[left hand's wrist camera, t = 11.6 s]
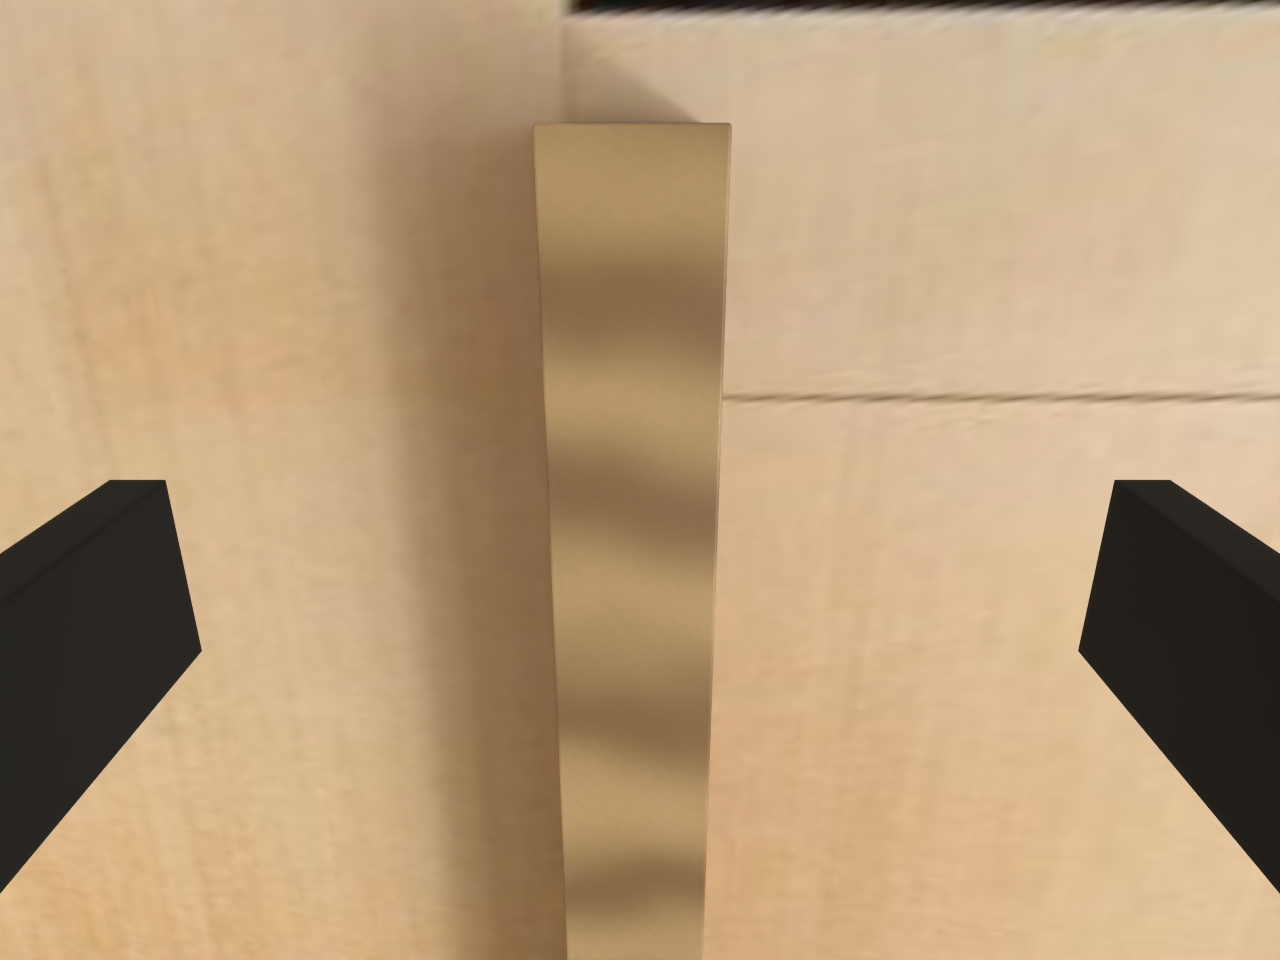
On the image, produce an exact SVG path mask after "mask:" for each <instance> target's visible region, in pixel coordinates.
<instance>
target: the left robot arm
mask: <svg viewBox="0 0 1280 960" xmlns="http://www.w3.org/2000/svg"><path fill="white" fill-rule="evenodd" d="M201 651H202V650H201V645H200V640H199V636H198V631H197V626H196V621H195V617H194V612H193V607H192V603H191V598H190V593H189V589H188V584H187V579H186V575H185V570H184V565H183V561H182V556H181V551H180V546H179V542H178V537H177V532H176V528H175V523H174V518H173V514H172V509H171V504H170V500H169V495H168V490H167V485H166V481H165V480H109V481H108V482H106V483H105V484H103V485H102V486H100V487H99V488H97V489H96V490H94V491H93V492H91V493H90V494H88V495H87V496H85V497H84V498H82V499H81V500H79V501H78V502H76V503H75V504H74V505H72V506H71V507H69V508H68V509H66V510H65V511H63V512H62V513H60V514H59V515H57V516H56V517H54V518H53V519H51V520H50V521H48V522H47V523H45V524H44V525H42V526H41V527H39V528H38V529H36V530H35V531H33V532H32V533H30V534H29V535H27V536H26V537H24V538H23V539H21V540H20V541H18V542H17V543H15V544H14V545H13V546H11V547H10V548H8V549H7V550H5V551H4V552H2V553H1V554H0V893H1V892H2V891H3V890H4V888H5V887H6V886H7V885H8V884H9V882H10V881H11V880H12V879H13V877H14V876H15V875H16V874H17V873H18V871H19V870H20V869H21V868H22V867H23V865H24V864H25V863H26V862H27V861H28V859H29V858H30V857H31V856H32V855H33V853H34V852H35V851H36V850H37V849H38V847H39V846H40V845H41V844H42V843H43V841H44V840H45V839H46V838H47V837H48V835H49V834H50V833H51V832H52V831H53V829H54V828H55V827H56V826H57V825H58V823H59V822H60V821H61V820H62V819H63V817H64V816H65V815H66V814H67V813H68V811H69V810H70V809H71V808H72V806H73V805H74V804H75V803H76V802H77V800H78V799H79V798H80V797H81V796H82V794H83V793H84V792H85V791H86V790H87V788H88V787H89V786H90V785H91V784H92V782H93V781H94V780H95V779H96V778H97V776H98V775H99V774H100V773H101V772H102V770H103V769H104V768H105V767H106V766H107V764H108V763H109V762H110V761H111V760H112V758H113V757H114V756H115V755H116V754H117V752H118V751H119V750H120V749H121V748H122V746H123V745H124V744H125V743H126V742H127V740H128V739H129V738H130V737H131V735H132V734H133V733H134V732H135V731H136V729H137V728H138V727H139V726H140V725H141V723H142V722H143V721H144V720H145V719H146V717H147V716H148V715H149V714H150V713H151V711H152V710H153V709H154V708H155V707H156V705H157V704H158V703H159V702H160V701H161V699H162V698H163V697H164V696H165V695H166V693H167V692H168V691H169V690H170V689H171V687H172V686H173V685H174V684H175V683H176V681H177V680H178V679H179V678H180V677H181V675H182V674H183V673H184V672H185V671H186V669H187V668H188V667H189V666H190V665H191V663H192V662H193V661H194V660H195V658H196V657H197V656H198V655H199V654H200V652H201ZM1078 651H1079V652H1080V654H1081V655H1082V656H1083V657H1084V658H1085V660H1086V661H1087V662H1088V663H1089V664H1090V666H1091V667H1092V668H1093V669H1094V671H1095V672H1096V673H1097V674H1098V675H1099V677H1100V678H1101V679H1102V680H1103V681H1104V683H1105V684H1106V685H1107V686H1108V687H1109V689H1110V690H1111V691H1112V692H1113V693H1114V695H1115V696H1116V697H1117V698H1118V699H1119V701H1120V702H1121V703H1122V704H1123V705H1124V707H1125V708H1126V709H1127V710H1128V711H1129V713H1130V714H1131V715H1132V716H1133V717H1134V719H1135V720H1136V721H1137V722H1138V723H1139V725H1140V726H1141V727H1142V728H1143V729H1144V731H1145V732H1146V733H1147V734H1148V735H1149V737H1150V738H1151V739H1152V740H1153V742H1154V743H1155V744H1156V745H1157V746H1158V748H1159V749H1160V750H1161V751H1162V752H1163V754H1164V755H1165V756H1166V757H1167V758H1168V760H1169V761H1170V762H1171V763H1172V764H1173V766H1174V767H1175V768H1176V769H1177V770H1178V772H1179V773H1180V774H1181V775H1182V776H1183V778H1184V779H1185V780H1186V781H1187V782H1188V784H1189V785H1190V786H1191V787H1192V788H1193V790H1194V791H1195V792H1196V793H1197V794H1198V796H1199V797H1200V798H1201V799H1202V800H1203V802H1204V803H1205V804H1206V805H1207V806H1208V808H1209V809H1210V810H1211V811H1212V813H1213V814H1214V815H1215V816H1216V817H1217V819H1218V820H1219V821H1220V822H1221V823H1222V825H1223V826H1224V827H1225V828H1226V829H1227V831H1228V832H1229V833H1230V834H1231V835H1232V837H1233V838H1234V839H1235V840H1236V841H1237V843H1238V844H1239V845H1240V846H1241V847H1242V849H1243V850H1244V851H1245V852H1246V853H1247V855H1248V856H1249V857H1250V858H1251V859H1252V861H1253V862H1254V863H1255V864H1256V865H1257V867H1258V868H1259V869H1260V870H1261V871H1262V873H1263V874H1264V875H1265V876H1266V877H1267V879H1268V880H1269V881H1270V882H1271V884H1272V885H1273V886H1274V887H1275V888H1276V890H1277V891H1278V892H1279V893H1280V554H1279V553H1278V552H1276V551H1275V550H1273V549H1272V548H1270V547H1269V546H1267V545H1266V544H1265V543H1263V542H1262V541H1260V540H1259V539H1257V538H1256V537H1254V536H1253V535H1251V534H1250V533H1248V532H1247V531H1245V530H1244V529H1242V528H1241V527H1239V526H1238V525H1236V524H1235V523H1233V522H1232V521H1230V520H1229V519H1227V518H1226V517H1224V516H1223V515H1221V514H1220V513H1218V512H1217V511H1215V510H1214V509H1212V508H1211V507H1209V506H1208V505H1207V504H1205V503H1204V502H1202V501H1201V500H1199V499H1198V498H1196V497H1195V496H1193V495H1192V494H1190V493H1189V492H1187V491H1186V490H1184V489H1183V488H1181V487H1180V486H1178V485H1177V484H1175V483H1174V482H1172V481H1171V480H1115V481H1114V485H1113V490H1112V495H1111V500H1110V504H1109V509H1108V514H1107V518H1106V523H1105V528H1104V532H1103V537H1102V542H1101V546H1100V551H1099V556H1098V561H1097V565H1096V570H1095V575H1094V579H1093V584H1092V589H1091V593H1090V598H1089V603H1088V607H1087V612H1086V617H1085V621H1084V626H1083V631H1082V636H1081V640H1080V645H1079V650H1078Z"/></svg>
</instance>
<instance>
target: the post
mask: <svg viewBox="0 0 1280 960" xmlns="http://www.w3.org/2000/svg"><path fill="white" fill-rule="evenodd" d="M731 131H732V126H731V124H730V123H535V124H533V148H534V172H535V197H536V221H537V245H538V269H539V293H540V317H541V342H542V366H543V390H544V414H545V438H546V463H547V487H548V511H549V535H550V559H551V583H552V608H553V632H554V656H555V680H556V704H557V729H558V753H559V777H560V801H561V825H562V849H563V874H564V898H565V922H566V946H567V960H703V936H704V907H705V878H706V850H707V821H708V792H709V763H710V735H711V706H712V677H713V648H714V619H715V591H716V562H717V533H718V504H719V476H720V447H721V418H722V390H723V361H724V332H725V303H726V274H727V246H728V217H729V188H730V159H731Z"/></svg>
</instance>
